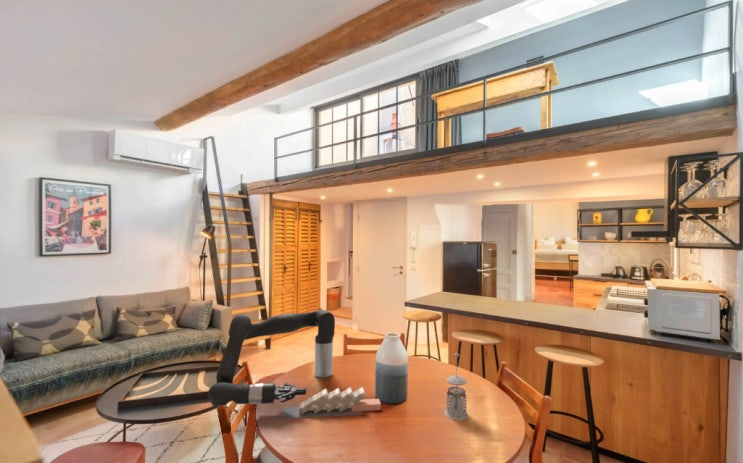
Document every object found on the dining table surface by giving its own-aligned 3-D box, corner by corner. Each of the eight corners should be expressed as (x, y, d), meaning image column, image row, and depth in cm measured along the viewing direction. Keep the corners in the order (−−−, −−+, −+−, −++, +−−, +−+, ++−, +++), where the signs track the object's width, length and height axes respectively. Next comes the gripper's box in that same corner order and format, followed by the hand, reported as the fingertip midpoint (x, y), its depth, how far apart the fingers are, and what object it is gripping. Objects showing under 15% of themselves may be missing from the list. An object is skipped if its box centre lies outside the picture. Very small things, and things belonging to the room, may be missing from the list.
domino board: (284, 408, 144) (284, 406, 144) (360, 404, 148) (360, 402, 148) (281, 421, 134) (281, 418, 134) (363, 416, 138) (363, 414, 138)
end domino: (351, 405, 140) (380, 404, 142) (350, 400, 145) (378, 398, 146) (351, 411, 140) (380, 409, 142) (350, 405, 145) (378, 404, 146)
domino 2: (312, 408, 138) (339, 392, 140) (312, 402, 143) (338, 387, 144) (315, 413, 138) (341, 397, 140) (315, 407, 143) (341, 392, 144)
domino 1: (299, 409, 137) (326, 393, 139) (300, 403, 142) (326, 388, 144) (302, 414, 137) (328, 398, 139) (302, 408, 142) (328, 393, 144)
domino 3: (325, 407, 139) (351, 392, 140) (325, 402, 143) (350, 387, 145) (327, 412, 139) (354, 397, 141) (327, 406, 144) (353, 392, 145)
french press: (468, 410, 144) (469, 350, 145) (468, 424, 133) (469, 359, 134) (444, 406, 147) (445, 348, 147) (443, 420, 136) (443, 357, 136)
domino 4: (337, 406, 139) (363, 391, 141) (337, 401, 144) (362, 386, 146) (340, 412, 139) (366, 396, 141) (339, 406, 144) (365, 391, 146)
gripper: (264, 395, 144) (306, 393, 147) (258, 411, 131) (304, 408, 133) (265, 377, 144) (307, 375, 147) (259, 391, 131) (305, 389, 134)
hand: (306, 391), depth 140 cm, fingers closed
